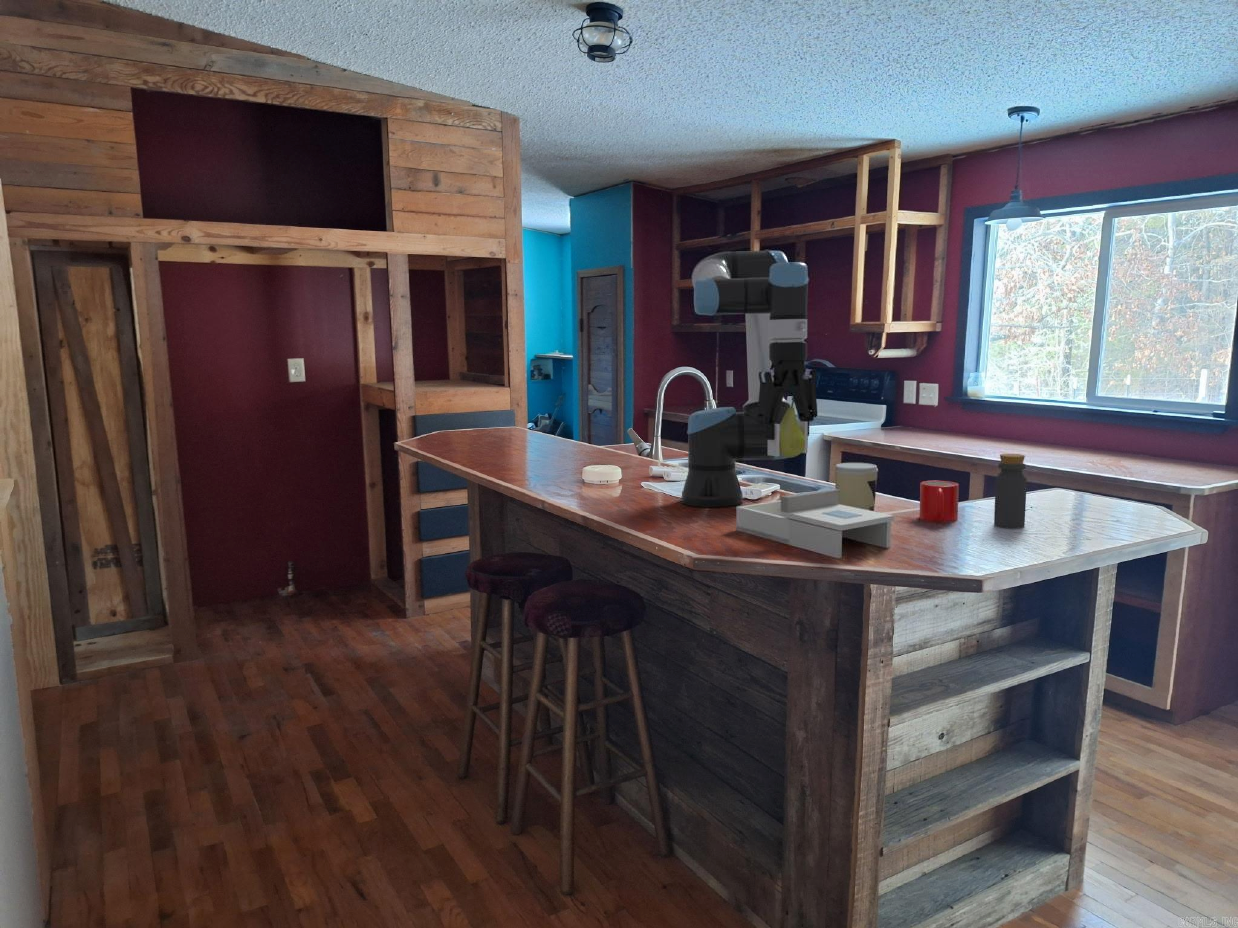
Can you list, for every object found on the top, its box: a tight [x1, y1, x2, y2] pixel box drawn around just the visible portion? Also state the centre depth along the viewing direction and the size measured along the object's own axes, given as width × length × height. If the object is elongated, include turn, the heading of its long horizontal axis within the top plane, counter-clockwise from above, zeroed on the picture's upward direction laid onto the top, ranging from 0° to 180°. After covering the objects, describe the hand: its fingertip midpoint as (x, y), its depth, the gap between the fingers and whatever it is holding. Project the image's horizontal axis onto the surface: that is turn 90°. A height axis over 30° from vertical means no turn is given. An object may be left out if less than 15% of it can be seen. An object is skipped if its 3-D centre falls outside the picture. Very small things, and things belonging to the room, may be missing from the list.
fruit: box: [779, 397, 805, 459], centre depth 171 cm, size 7×8×12 cm
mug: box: [919, 480, 960, 523], centre depth 182 cm, size 8×12×8 cm, turn 164°
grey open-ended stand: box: [736, 499, 892, 559], centre depth 169 cm, size 29×14×5 cm, turn 31°
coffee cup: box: [833, 462, 879, 512], centre depth 185 cm, size 9×9×12 cm
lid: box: [780, 488, 895, 531], centre depth 162 cm, size 16×14×4 cm
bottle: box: [993, 453, 1028, 529], centre depth 175 cm, size 6×6×15 cm
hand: (787, 453), depth 172 cm, fingers closed on fruit, 7 cm apart
